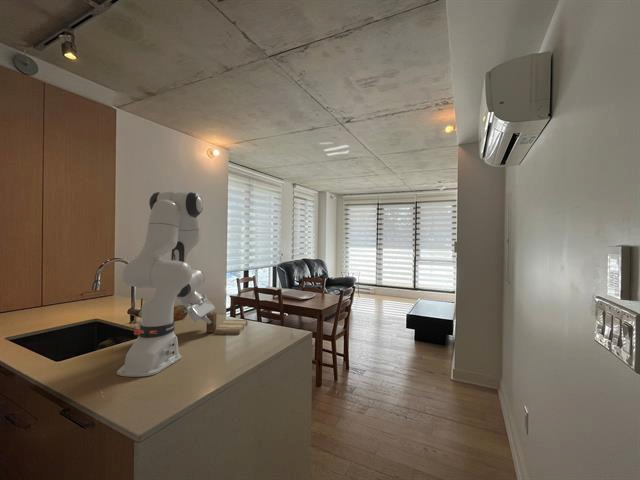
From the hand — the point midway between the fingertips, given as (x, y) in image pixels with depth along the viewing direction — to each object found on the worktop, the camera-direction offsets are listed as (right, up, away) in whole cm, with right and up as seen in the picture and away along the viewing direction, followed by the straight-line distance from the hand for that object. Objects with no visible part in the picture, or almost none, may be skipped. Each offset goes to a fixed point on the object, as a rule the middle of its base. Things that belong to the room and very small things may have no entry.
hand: (212, 321), depth 147 cm
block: (-1, -5, 0) cm, 5 cm away
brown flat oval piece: (-30, -5, +20) cm, 36 cm away
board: (+8, -5, +5) cm, 11 cm away
